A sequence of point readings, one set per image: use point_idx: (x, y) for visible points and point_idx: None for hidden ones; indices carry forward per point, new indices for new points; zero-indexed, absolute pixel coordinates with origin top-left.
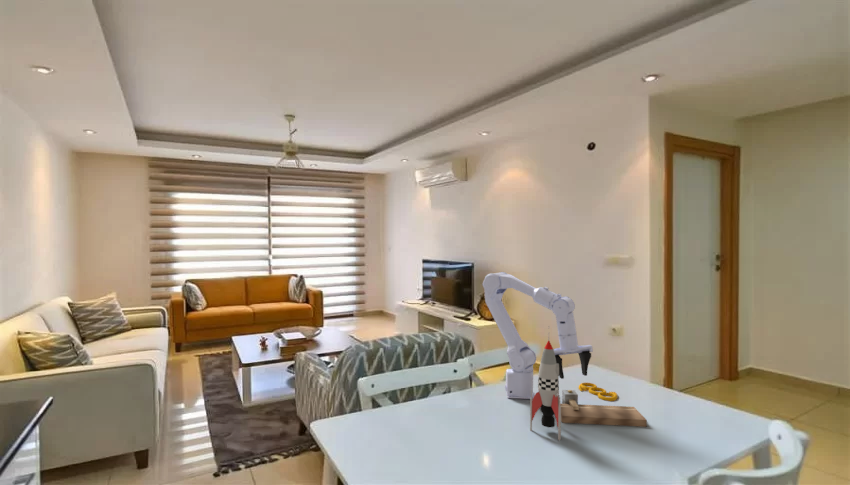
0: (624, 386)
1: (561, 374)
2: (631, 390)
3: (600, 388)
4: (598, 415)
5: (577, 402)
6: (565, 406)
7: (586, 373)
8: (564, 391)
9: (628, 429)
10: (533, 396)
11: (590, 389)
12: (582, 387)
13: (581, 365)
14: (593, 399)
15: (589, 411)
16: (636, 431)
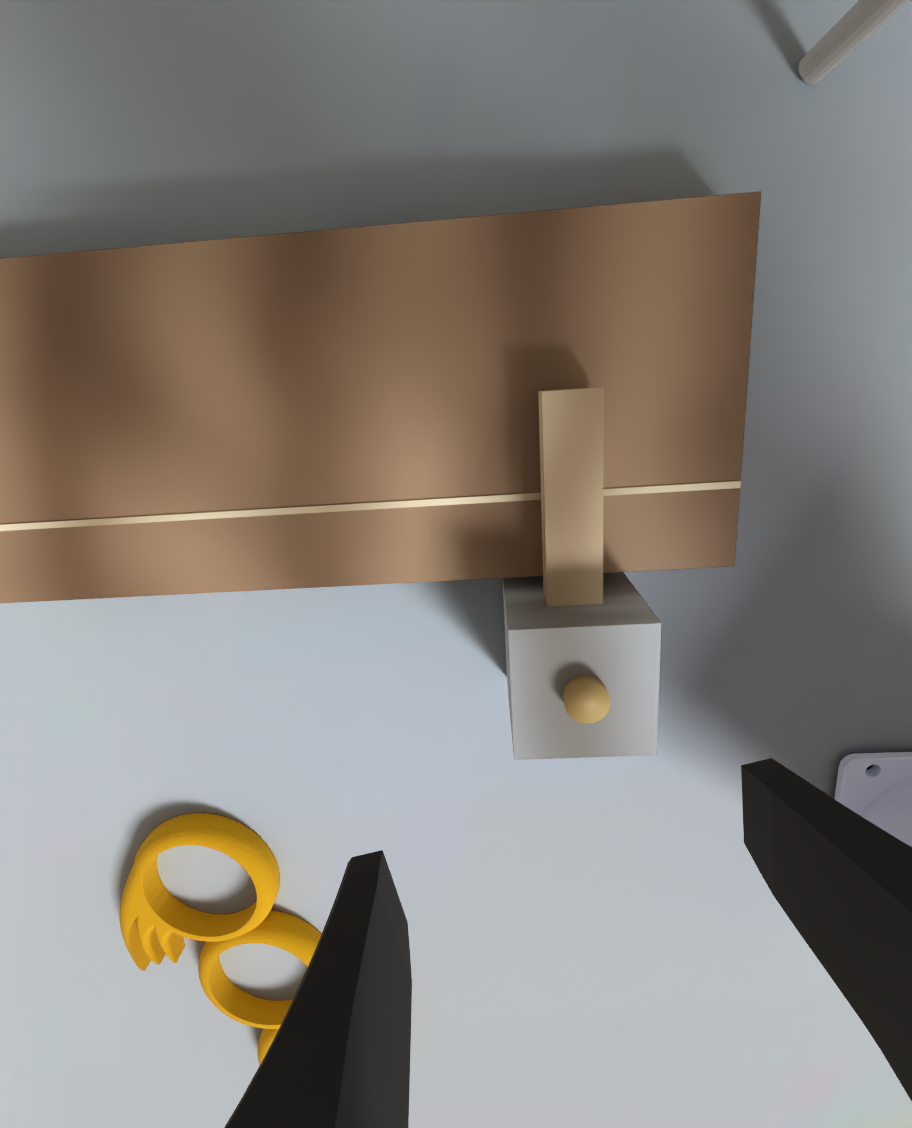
0: (59, 1087)
1: (827, 798)
2: (16, 1025)
3: (235, 1012)
4: (348, 296)
5: (507, 597)
6: (652, 491)
7: (351, 880)
8: (645, 707)
9: (106, 173)
10: (859, 791)
11: None
12: None
13: (404, 1102)
14: (323, 825)
15: (423, 398)
16: (37, 136)
